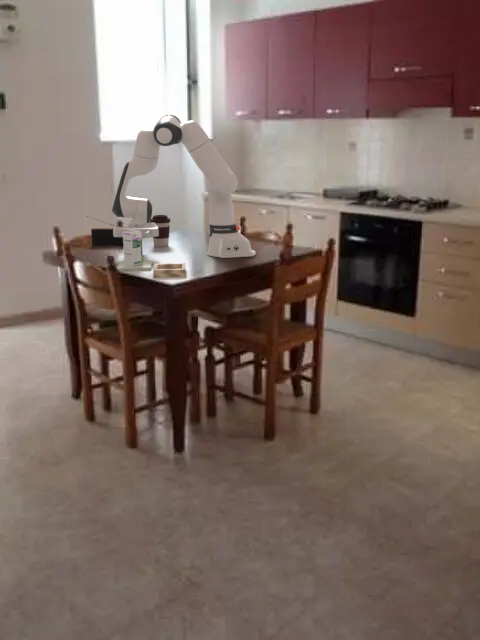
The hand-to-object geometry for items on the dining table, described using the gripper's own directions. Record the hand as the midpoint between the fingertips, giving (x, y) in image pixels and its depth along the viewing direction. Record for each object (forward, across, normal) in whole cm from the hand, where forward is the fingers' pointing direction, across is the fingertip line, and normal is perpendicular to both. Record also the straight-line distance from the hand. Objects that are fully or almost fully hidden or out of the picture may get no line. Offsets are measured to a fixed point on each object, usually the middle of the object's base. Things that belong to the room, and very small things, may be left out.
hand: (135, 234), depth 320 cm
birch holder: (+26, +15, +12) cm, 33 cm away
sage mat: (+11, 0, +12) cm, 17 cm away
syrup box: (+11, -1, +11) cm, 16 cm away
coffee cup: (-41, +10, +12) cm, 44 cm away
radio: (-45, -17, +13) cm, 49 cm away
